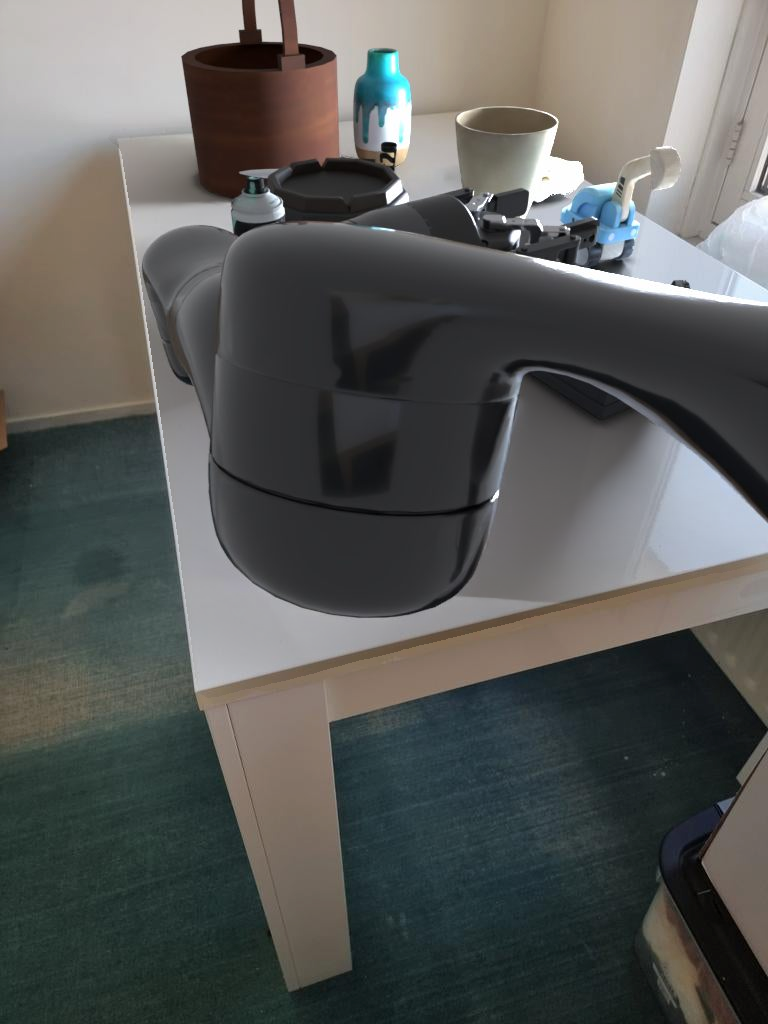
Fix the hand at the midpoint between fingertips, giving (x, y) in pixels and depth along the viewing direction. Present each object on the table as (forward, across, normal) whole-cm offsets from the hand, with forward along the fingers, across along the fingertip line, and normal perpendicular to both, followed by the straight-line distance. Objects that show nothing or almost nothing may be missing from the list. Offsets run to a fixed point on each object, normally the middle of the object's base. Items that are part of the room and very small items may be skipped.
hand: (559, 215), depth 64 cm
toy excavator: (+36, -24, -21) cm, 49 cm away
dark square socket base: (+14, -2, -21) cm, 26 cm away
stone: (+53, -55, -21) cm, 79 cm away
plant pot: (+32, -43, -21) cm, 58 cm away
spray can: (-16, -26, -21) cm, 38 cm away
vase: (+34, -79, -21) cm, 88 cm away
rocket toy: (+7, -55, -21) cm, 60 cm away
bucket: (+13, -85, -21) cm, 89 cm away
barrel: (-3, -35, -21) cm, 41 cm away
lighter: (+30, -5, -22) cm, 37 cm away
